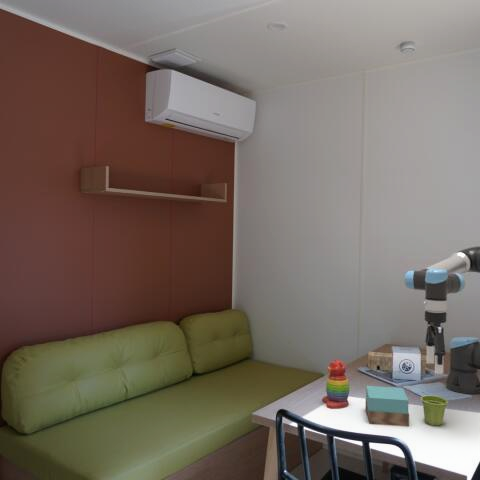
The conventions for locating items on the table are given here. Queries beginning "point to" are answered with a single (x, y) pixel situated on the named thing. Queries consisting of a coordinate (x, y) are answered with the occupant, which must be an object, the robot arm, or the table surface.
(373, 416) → the tower base
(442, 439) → the table surface
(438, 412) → the plant pot
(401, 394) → the tower top
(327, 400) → the stacking bear
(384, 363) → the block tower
